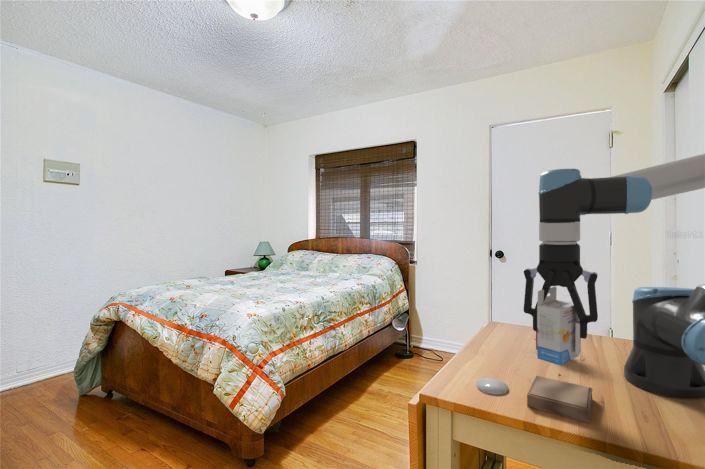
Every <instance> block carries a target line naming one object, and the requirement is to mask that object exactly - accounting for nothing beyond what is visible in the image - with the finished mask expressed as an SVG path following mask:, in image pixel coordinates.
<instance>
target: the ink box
mask: <svg viewBox="0 0 705 469" xmlns="http://www.w3.org/2000/svg"><path fill="white" fill-rule="evenodd" d="M557 290H558V289H557V286H551V287H550V289H549V292H548V294H550V295H547V297H546V298H545V301H544V290H542V289H541V290H538V291H537V301H538V305H537V350H536V351H537V353H536V355H537V359H538V360H541V361H543V362H548V363H551V364H554V365H558V366H563V364H566V363H568V362H570V361H572V360H574V359H576V358H578V357H579V356H580V355H577V354H575V327H576V320H579V318H578V315H577V312H576V310H575V307H574V304H573V302H572V301H571V302H570V301H565V300H559V299H557Z"/></svg>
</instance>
